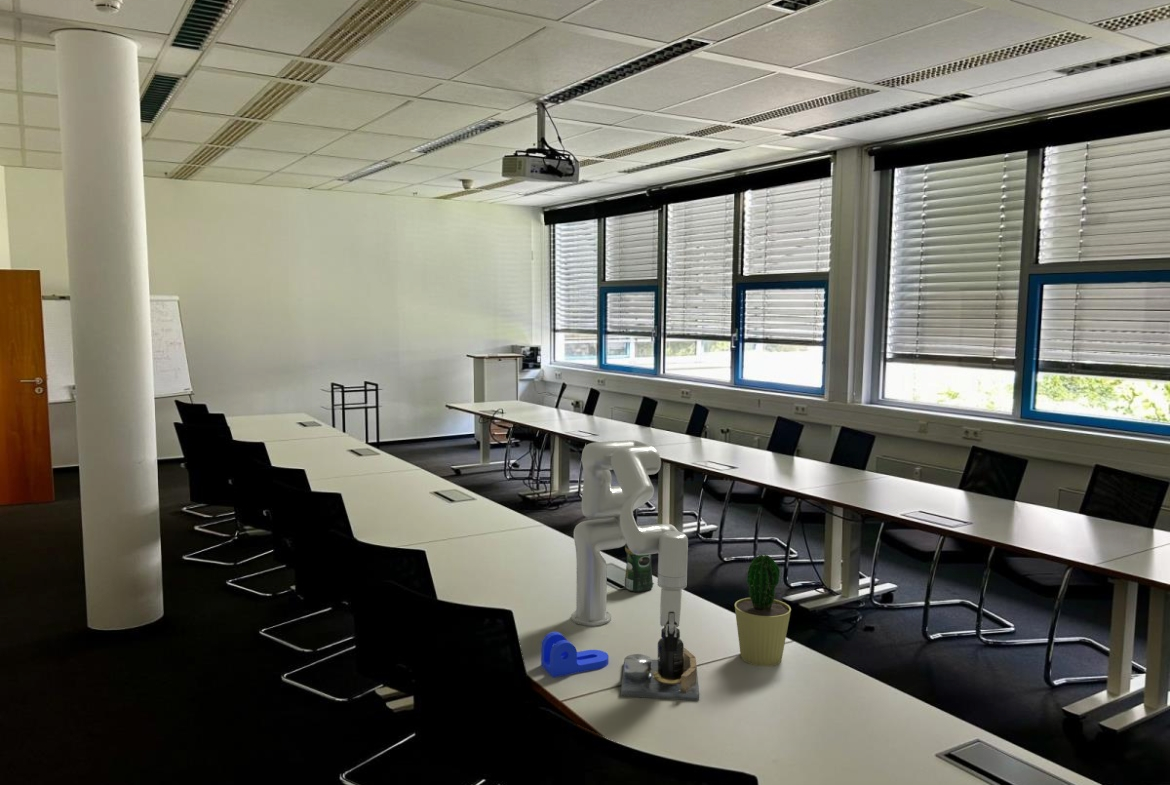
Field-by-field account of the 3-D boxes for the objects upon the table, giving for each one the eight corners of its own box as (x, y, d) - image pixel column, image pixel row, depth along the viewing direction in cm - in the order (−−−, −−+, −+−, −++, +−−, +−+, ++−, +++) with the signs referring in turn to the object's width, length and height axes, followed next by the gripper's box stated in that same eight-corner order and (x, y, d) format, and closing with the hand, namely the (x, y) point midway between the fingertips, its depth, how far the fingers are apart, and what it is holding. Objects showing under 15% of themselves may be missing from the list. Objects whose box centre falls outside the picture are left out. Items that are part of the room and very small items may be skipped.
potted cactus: (748, 672, 218) (751, 563, 215) (724, 649, 233) (726, 547, 230) (799, 666, 222) (803, 559, 219) (772, 644, 237) (775, 544, 234)
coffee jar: (643, 583, 291) (644, 532, 289) (656, 589, 284) (656, 538, 282) (620, 587, 286) (621, 536, 285) (632, 594, 280) (633, 541, 278)
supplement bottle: (681, 668, 216) (682, 625, 215) (685, 680, 209) (686, 635, 208) (655, 669, 215) (656, 625, 214) (658, 680, 209) (659, 635, 208)
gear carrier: (624, 663, 223) (624, 644, 222) (695, 666, 221) (696, 647, 220) (621, 696, 203) (621, 675, 203) (699, 700, 202) (699, 678, 201)
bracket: (552, 678, 214) (552, 645, 213) (541, 665, 221) (541, 633, 220) (613, 666, 221) (614, 634, 221) (600, 654, 229) (600, 624, 228)
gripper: (657, 568, 219) (656, 629, 220) (657, 590, 201) (655, 656, 203) (685, 569, 218) (683, 630, 220) (687, 592, 201) (685, 658, 203)
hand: (670, 643), depth 211 cm, fingers open, 9 cm apart
